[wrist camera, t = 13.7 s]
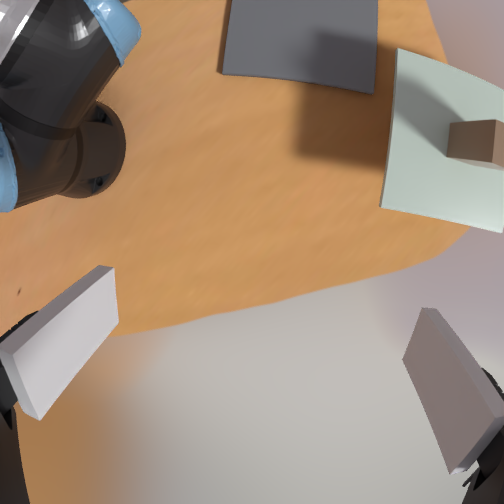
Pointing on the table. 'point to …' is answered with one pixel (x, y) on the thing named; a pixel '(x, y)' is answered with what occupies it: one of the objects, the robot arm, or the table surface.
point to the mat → (304, 41)
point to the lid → (445, 144)
